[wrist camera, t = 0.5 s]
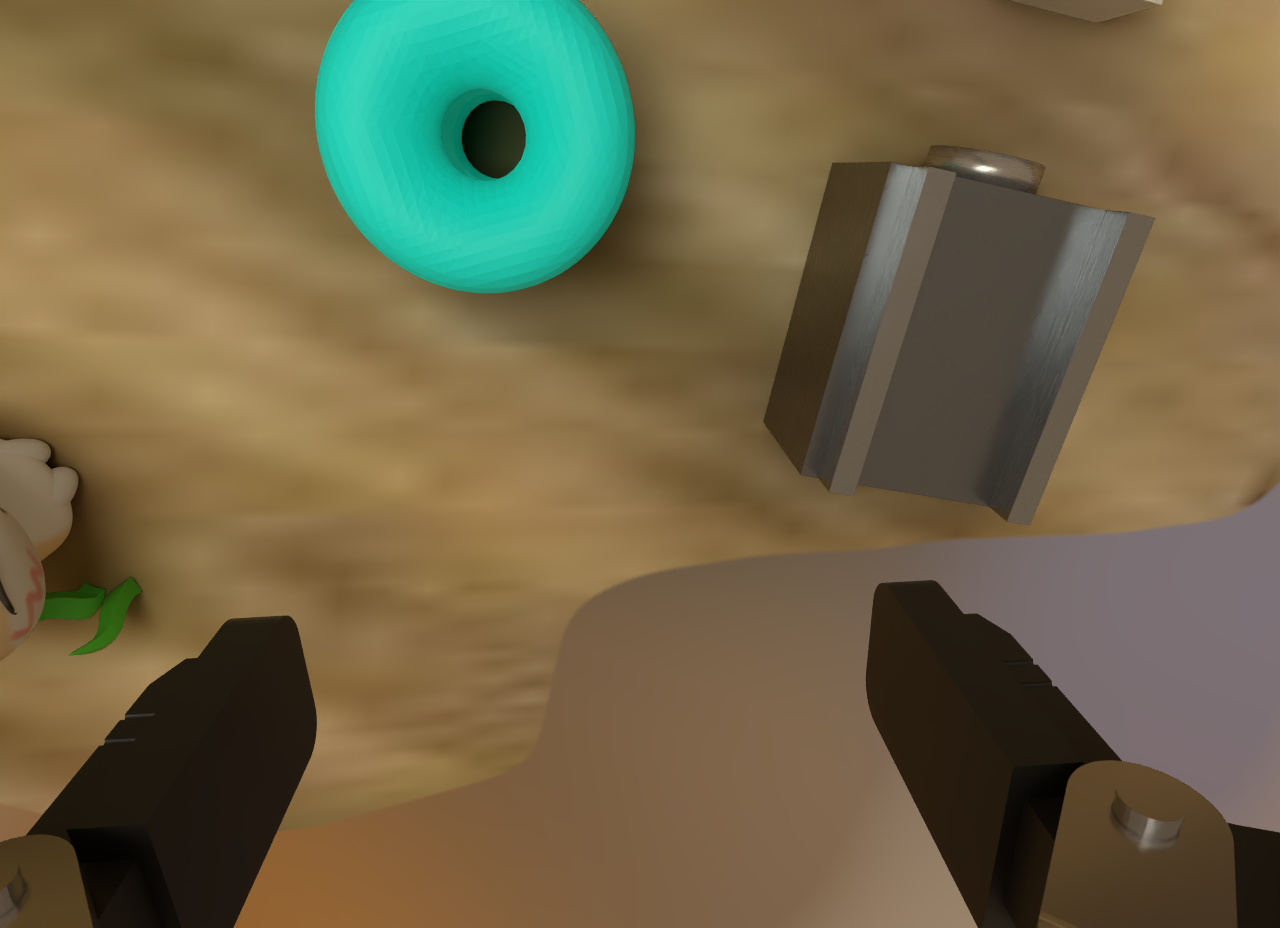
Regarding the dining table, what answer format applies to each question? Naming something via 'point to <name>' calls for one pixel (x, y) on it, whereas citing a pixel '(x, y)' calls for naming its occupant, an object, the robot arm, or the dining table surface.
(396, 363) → the dining table surface
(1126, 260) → the motor housing
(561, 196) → the donuts
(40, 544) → the kitten
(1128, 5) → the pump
